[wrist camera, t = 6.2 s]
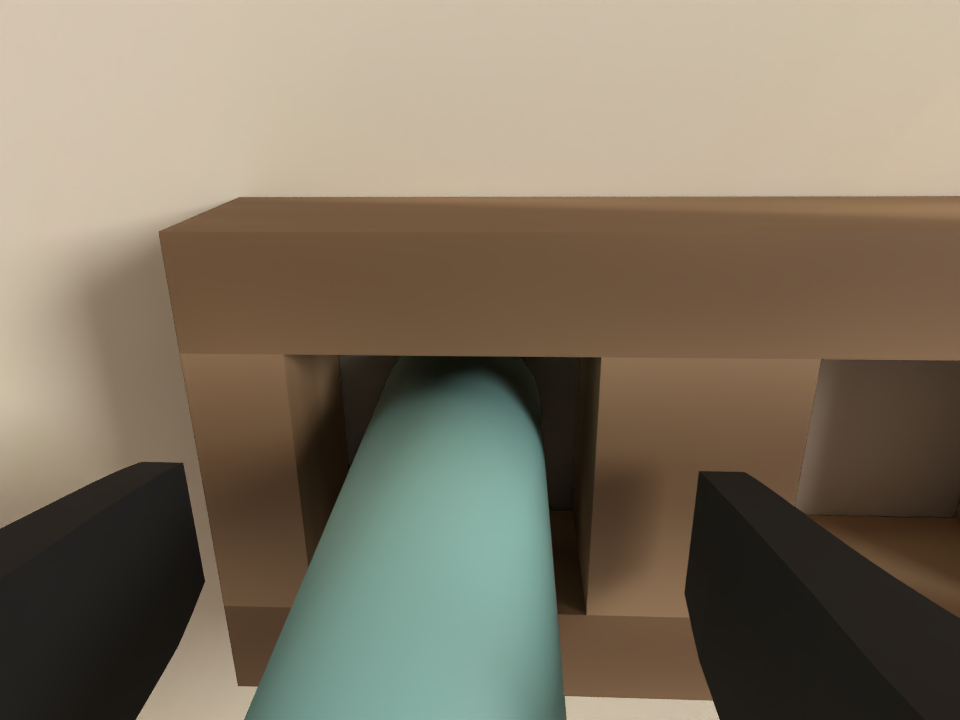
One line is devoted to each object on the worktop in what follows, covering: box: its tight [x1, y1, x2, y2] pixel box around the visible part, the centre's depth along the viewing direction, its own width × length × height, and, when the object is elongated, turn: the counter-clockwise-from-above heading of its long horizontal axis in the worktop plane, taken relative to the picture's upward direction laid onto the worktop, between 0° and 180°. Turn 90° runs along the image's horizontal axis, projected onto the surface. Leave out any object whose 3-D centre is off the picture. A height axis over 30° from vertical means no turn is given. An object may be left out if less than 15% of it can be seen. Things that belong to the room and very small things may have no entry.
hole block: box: [159, 196, 960, 700], centre depth 12 cm, size 8×15×3 cm, turn 91°
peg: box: [244, 356, 566, 720], centre depth 9 cm, size 3×3×9 cm
